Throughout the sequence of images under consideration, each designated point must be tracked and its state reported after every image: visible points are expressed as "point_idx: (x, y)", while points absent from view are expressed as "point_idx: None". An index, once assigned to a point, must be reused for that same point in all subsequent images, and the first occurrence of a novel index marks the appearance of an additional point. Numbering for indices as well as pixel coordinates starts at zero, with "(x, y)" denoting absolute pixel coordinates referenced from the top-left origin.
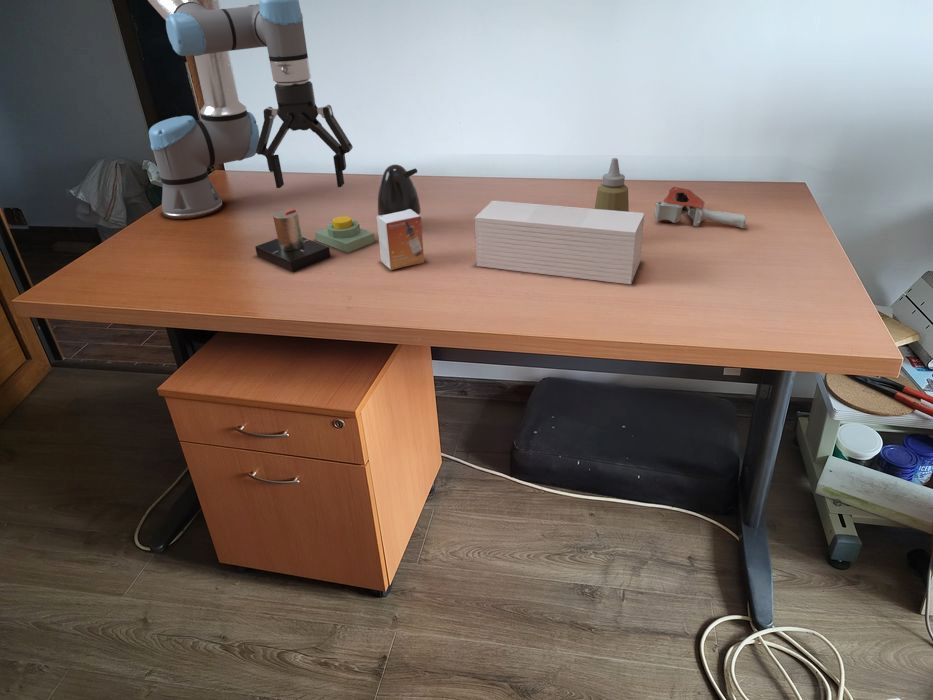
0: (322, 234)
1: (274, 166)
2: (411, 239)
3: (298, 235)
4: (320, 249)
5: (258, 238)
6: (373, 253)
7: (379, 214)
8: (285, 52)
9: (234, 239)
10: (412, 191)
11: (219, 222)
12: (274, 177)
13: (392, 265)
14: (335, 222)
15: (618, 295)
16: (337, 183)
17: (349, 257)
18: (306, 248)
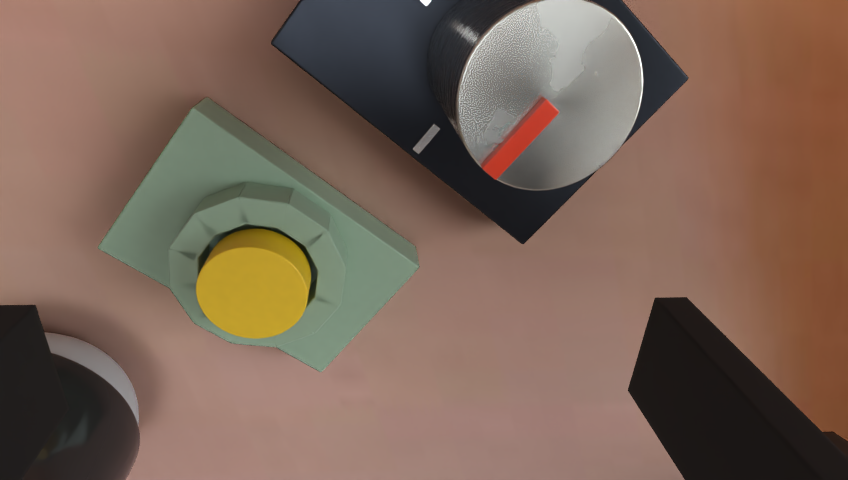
0: (370, 235)
1: (834, 474)
2: None
3: (442, 40)
4: (309, 6)
5: (674, 275)
6: (59, 83)
7: (99, 392)
8: None
9: (771, 266)
10: None
11: (828, 413)
12: (755, 366)
13: None
14: (275, 253)
15: None
16: (8, 330)
17: (174, 34)
18: (399, 29)
